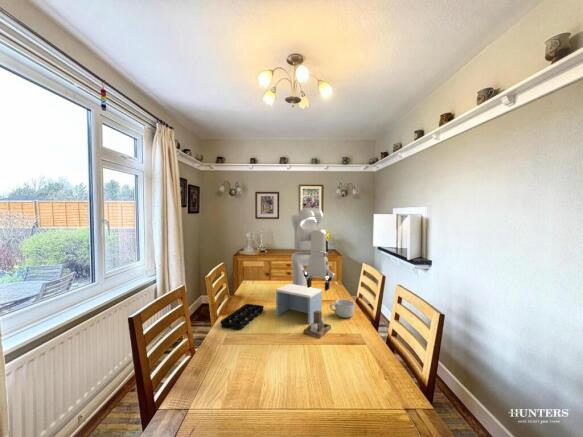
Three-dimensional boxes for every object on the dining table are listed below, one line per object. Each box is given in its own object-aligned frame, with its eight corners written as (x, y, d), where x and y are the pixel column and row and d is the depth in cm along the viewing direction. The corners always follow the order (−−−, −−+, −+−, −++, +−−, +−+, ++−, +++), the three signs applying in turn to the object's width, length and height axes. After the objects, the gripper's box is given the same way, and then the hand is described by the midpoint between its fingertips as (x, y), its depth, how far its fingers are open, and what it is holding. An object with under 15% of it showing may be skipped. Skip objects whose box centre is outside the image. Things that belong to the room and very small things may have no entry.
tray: (315, 325, 140) (315, 306, 139) (330, 329, 135) (331, 309, 135) (303, 333, 130) (303, 313, 129) (320, 338, 125) (320, 317, 125)
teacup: (352, 312, 156) (353, 299, 156) (355, 320, 146) (355, 305, 145) (329, 311, 158) (329, 298, 158) (330, 319, 147) (330, 304, 147)
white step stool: (289, 307, 164) (289, 283, 163) (321, 315, 152) (321, 289, 152) (276, 315, 152) (276, 289, 151) (309, 324, 140) (310, 295, 140)
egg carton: (217, 330, 133) (217, 323, 133) (237, 308, 163) (237, 302, 163) (251, 332, 131) (251, 325, 131) (265, 310, 161) (265, 304, 161)
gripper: (337, 254, 130) (337, 289, 130) (306, 252, 139) (306, 284, 139) (331, 256, 123) (331, 293, 124) (299, 253, 133) (299, 287, 133)
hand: (317, 288), depth 131 cm, fingers open, 9 cm apart
